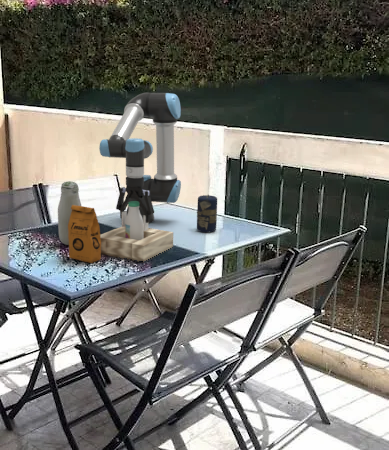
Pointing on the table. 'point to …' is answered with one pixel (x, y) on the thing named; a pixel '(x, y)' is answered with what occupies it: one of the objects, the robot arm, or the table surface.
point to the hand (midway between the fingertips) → (134, 228)
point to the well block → (136, 244)
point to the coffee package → (84, 234)
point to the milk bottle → (134, 222)
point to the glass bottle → (67, 208)
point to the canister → (207, 213)
